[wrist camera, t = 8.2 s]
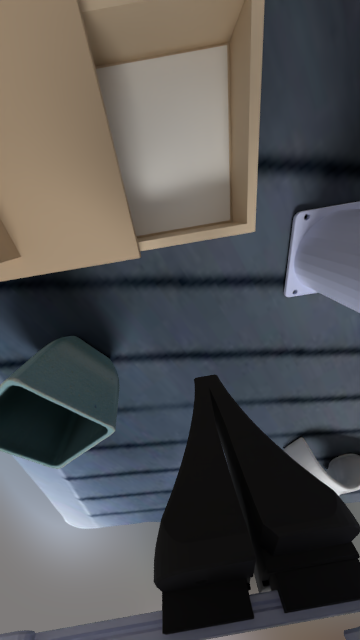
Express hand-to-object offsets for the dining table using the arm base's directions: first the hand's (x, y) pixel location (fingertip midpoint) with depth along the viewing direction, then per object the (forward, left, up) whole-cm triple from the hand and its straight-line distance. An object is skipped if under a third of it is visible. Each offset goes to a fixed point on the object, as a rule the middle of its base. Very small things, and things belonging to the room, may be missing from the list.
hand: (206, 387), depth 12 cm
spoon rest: (-24, +39, -11) cm, 47 cm away
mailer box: (+3, -13, -10) cm, 17 cm away
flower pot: (+14, +4, -11) cm, 18 cm away
